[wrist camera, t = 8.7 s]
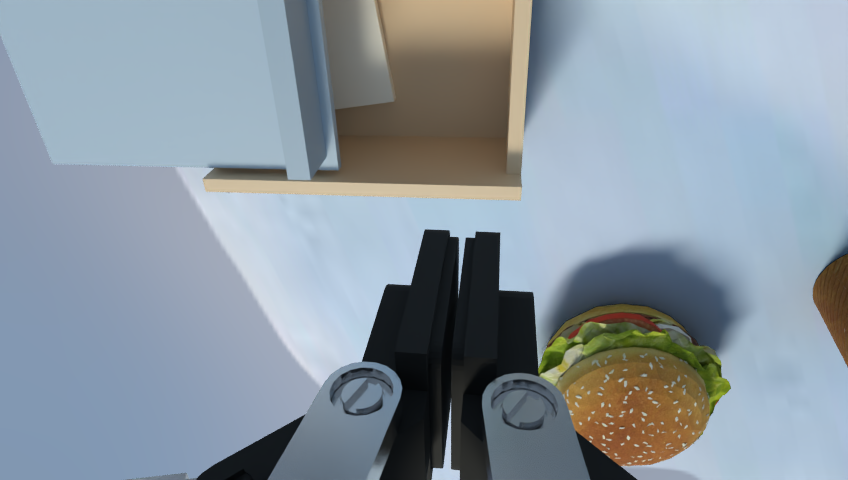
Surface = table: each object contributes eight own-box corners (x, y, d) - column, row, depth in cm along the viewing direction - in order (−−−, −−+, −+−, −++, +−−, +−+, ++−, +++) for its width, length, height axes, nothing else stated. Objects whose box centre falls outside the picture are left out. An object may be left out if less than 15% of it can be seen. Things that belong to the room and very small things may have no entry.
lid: (-18, -34, 28) (-81, -25, 25) (316, -42, 26) (292, -34, 23) (59, 159, 34) (15, 185, 31) (341, 166, 32) (324, 194, 29)
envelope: (300, -9, 33) (296, -7, 32) (372, -22, 32) (370, -20, 31) (330, 107, 36) (327, 110, 36) (396, 98, 35) (394, 101, 35)
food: (599, 254, 41) (618, 325, 34) (743, 344, 43) (787, 426, 36) (490, 364, 47) (488, 441, 41) (619, 436, 50) (637, 520, 43)
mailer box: (216, -72, 32) (139, -64, 25) (531, -82, 30) (539, -76, 23) (257, 140, 39) (205, 191, 32) (517, 145, 37) (520, 200, 30)
